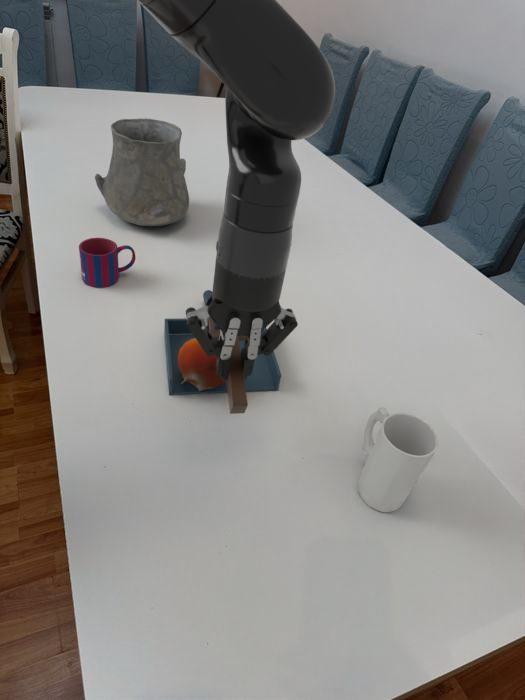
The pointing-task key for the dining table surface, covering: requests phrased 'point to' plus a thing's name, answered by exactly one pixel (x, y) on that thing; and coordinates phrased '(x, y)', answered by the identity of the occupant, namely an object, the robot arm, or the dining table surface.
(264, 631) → the dining table surface
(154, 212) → the vessel
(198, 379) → the fruit
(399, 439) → the mug
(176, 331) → the dustpan
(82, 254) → the cup
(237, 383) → the fork
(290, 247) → the robot arm
